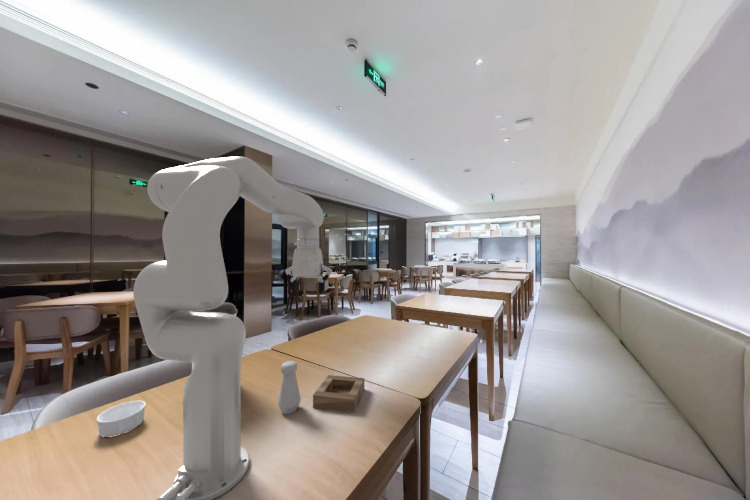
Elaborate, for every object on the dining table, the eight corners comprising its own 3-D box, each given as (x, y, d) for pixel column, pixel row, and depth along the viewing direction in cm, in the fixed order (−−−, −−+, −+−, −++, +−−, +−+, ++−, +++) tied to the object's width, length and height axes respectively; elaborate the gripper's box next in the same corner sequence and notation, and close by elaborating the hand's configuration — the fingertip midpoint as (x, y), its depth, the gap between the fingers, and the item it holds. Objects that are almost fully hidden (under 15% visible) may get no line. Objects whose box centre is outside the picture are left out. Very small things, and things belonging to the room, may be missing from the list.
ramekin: (151, 423, 67) (151, 406, 67) (103, 445, 59) (103, 426, 59) (138, 412, 71) (138, 396, 71) (91, 432, 64) (91, 414, 64)
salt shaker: (303, 404, 74) (303, 358, 74) (295, 416, 69) (295, 367, 69) (284, 403, 75) (283, 358, 75) (274, 415, 69) (274, 366, 69)
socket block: (354, 412, 70) (354, 399, 70) (313, 407, 72) (312, 395, 73) (364, 389, 82) (364, 378, 82) (328, 385, 84) (328, 375, 84)
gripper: (280, 244, 89) (280, 294, 89) (327, 244, 86) (327, 295, 86) (291, 245, 97) (291, 291, 97) (335, 244, 94) (335, 292, 93)
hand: (308, 293), depth 91 cm, fingers open, 9 cm apart
